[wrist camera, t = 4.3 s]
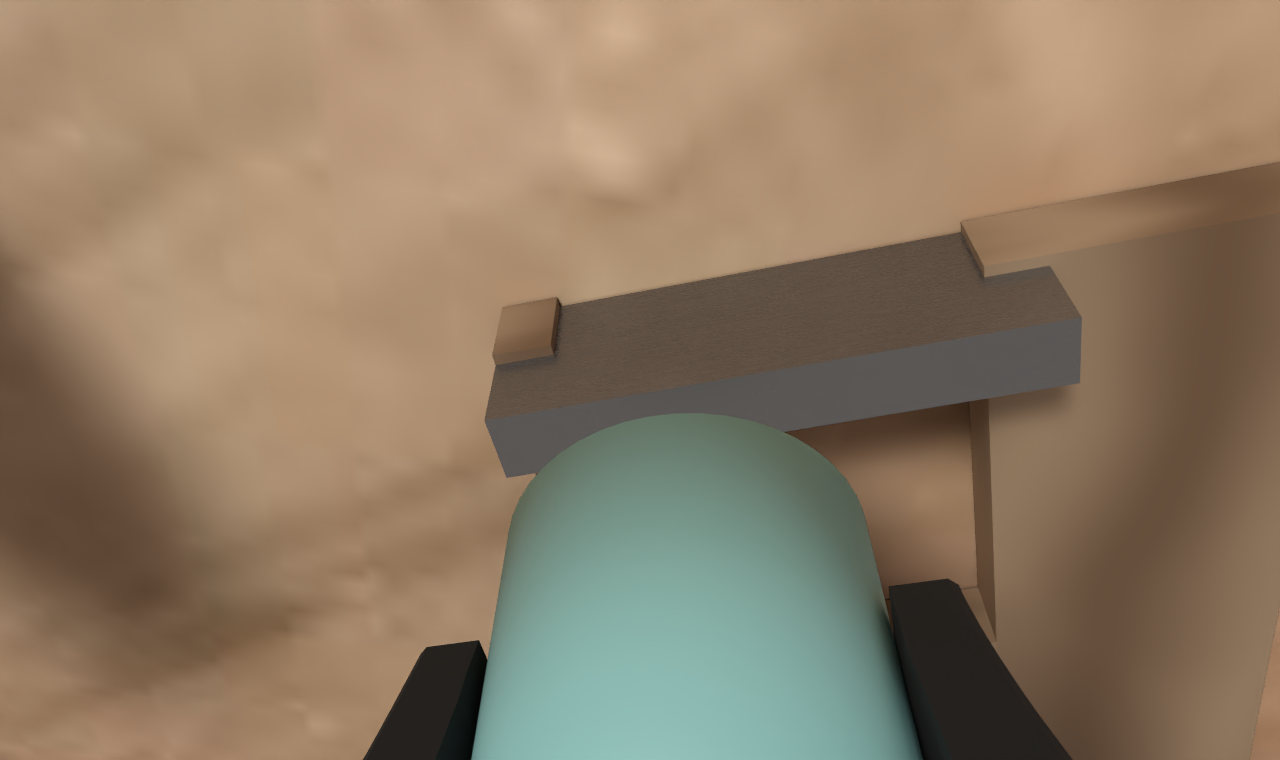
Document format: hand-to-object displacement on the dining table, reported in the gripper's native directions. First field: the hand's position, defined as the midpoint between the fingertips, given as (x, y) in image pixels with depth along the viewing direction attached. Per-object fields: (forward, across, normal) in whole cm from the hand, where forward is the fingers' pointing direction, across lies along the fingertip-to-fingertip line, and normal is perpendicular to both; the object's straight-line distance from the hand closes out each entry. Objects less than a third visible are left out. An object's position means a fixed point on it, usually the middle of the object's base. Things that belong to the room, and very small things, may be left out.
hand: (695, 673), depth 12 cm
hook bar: (+8, -1, +1) cm, 9 cm away
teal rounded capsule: (+2, 0, 0) cm, 2 cm away
